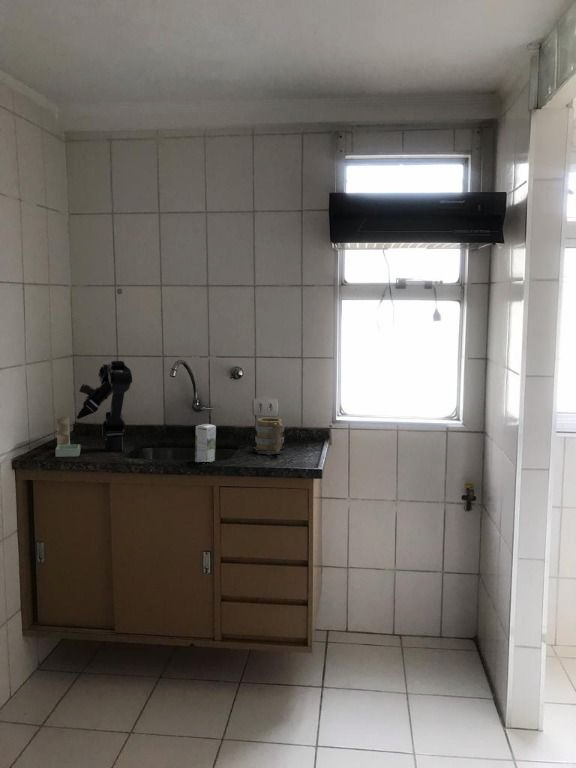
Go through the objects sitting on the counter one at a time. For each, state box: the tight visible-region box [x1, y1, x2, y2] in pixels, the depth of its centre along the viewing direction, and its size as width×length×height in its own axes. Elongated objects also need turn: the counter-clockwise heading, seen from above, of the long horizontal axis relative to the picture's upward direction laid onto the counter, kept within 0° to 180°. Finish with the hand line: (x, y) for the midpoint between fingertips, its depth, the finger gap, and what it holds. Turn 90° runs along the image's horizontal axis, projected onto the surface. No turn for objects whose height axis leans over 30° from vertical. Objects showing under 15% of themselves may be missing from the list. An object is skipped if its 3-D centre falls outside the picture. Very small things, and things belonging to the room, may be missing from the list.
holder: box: [55, 443, 81, 458], centre depth 263 cm, size 9×9×3 cm
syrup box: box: [194, 423, 217, 463], centre depth 255 cm, size 6×6×14 cm
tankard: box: [253, 417, 285, 452], centre depth 273 cm, size 20×13×15 cm, turn 18°
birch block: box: [56, 416, 71, 447], centre depth 274 cm, size 4×4×13 cm
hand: (78, 416), depth 279 cm, fingers open, 9 cm apart
